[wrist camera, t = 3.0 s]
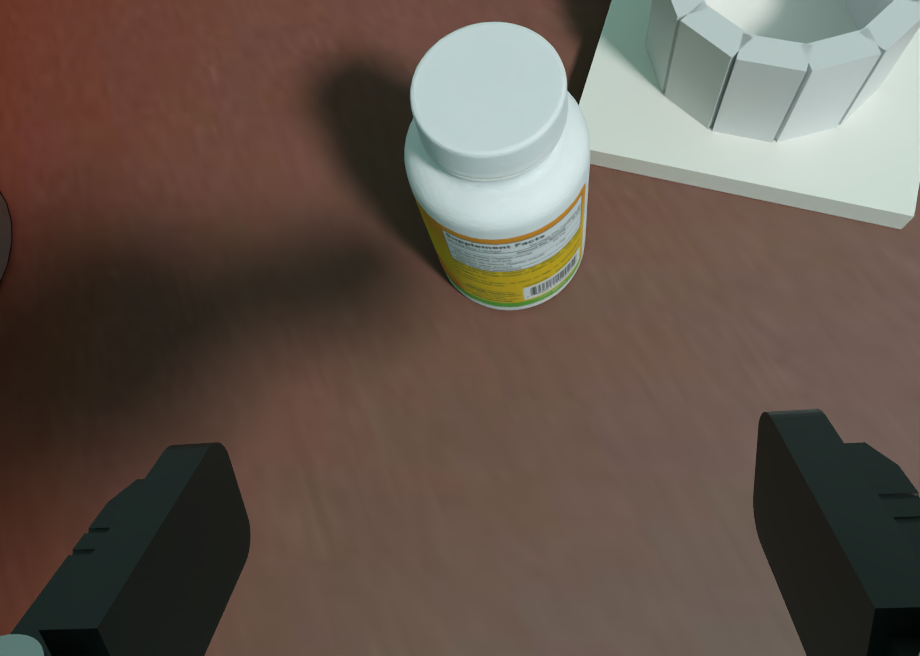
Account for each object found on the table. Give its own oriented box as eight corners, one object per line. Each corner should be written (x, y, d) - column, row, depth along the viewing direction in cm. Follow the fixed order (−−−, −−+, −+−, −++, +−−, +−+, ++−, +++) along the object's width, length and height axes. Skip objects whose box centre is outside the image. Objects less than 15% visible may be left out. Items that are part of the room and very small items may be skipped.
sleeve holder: (566, 159, 28) (566, 76, 24) (641, -83, 32) (655, -198, 27) (901, 229, 26) (976, 153, 21) (947, -42, 29) (1022, -161, 24)
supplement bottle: (456, 173, 29) (408, -12, 20) (595, 191, 28) (611, 5, 19) (425, 301, 27) (357, 166, 18) (571, 325, 26) (575, 194, 17)
